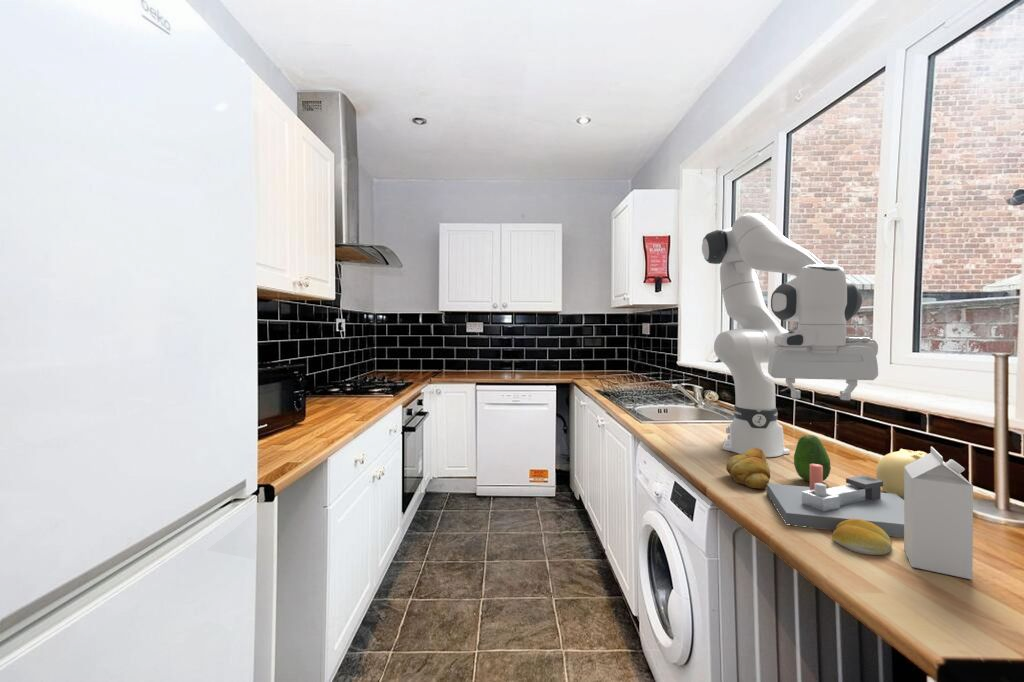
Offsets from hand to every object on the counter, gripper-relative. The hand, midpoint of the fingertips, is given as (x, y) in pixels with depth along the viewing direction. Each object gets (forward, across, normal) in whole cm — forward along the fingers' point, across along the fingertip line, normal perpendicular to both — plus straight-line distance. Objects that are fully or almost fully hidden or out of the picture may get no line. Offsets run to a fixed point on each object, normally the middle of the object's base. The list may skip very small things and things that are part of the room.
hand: (819, 398), depth 98 cm
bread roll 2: (+24, -1, +20) cm, 31 cm away
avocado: (+24, -3, -14) cm, 28 cm away
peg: (+24, +1, +2) cm, 24 cm away
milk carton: (+23, -10, +24) cm, 35 cm away
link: (+21, -1, +7) cm, 22 cm away
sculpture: (+24, -21, -9) cm, 33 cm away
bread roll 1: (+24, +12, -10) cm, 29 cm away
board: (+23, -3, +6) cm, 24 cm away
